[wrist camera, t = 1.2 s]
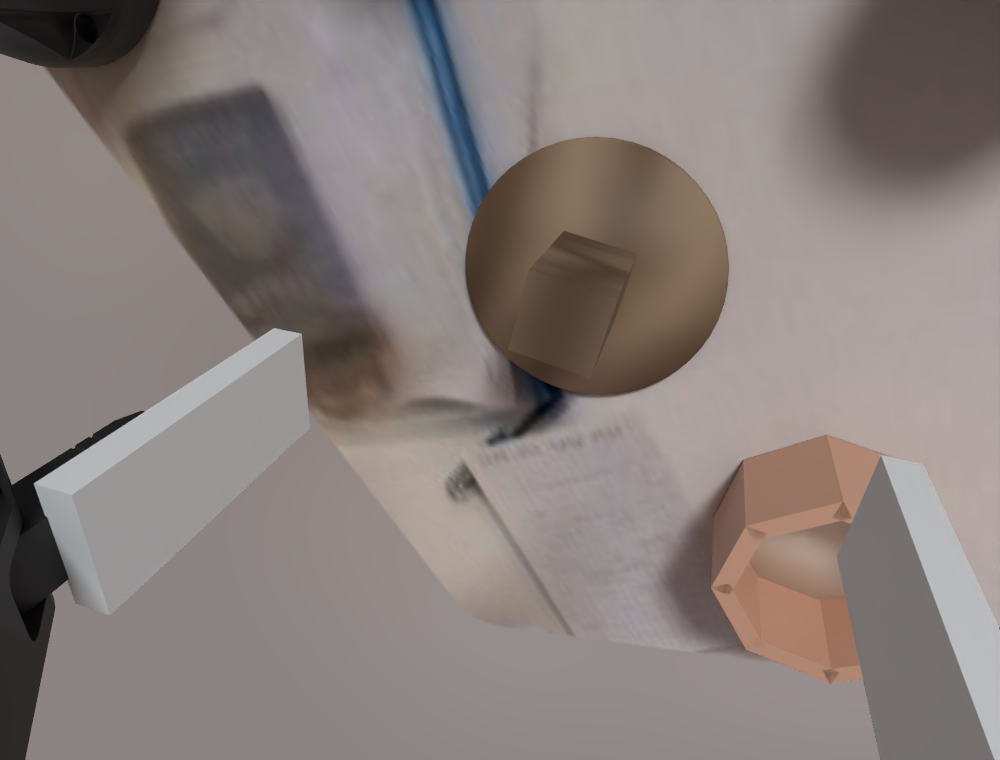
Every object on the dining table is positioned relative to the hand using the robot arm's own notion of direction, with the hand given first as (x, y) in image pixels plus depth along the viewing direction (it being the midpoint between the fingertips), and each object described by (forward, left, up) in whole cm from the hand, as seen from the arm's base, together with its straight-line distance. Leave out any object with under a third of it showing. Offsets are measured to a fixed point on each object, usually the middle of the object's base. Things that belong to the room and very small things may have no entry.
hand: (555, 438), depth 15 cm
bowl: (+15, -14, -21) cm, 29 cm away
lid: (-2, -4, -22) cm, 22 cm away
